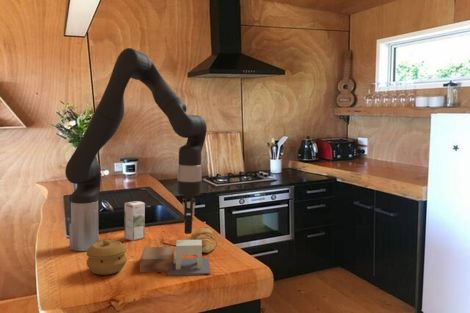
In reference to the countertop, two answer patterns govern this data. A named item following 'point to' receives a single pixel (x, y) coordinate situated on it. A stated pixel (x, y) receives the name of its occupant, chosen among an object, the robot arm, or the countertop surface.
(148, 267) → the tan square slab
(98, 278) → the countertop surface
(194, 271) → the felt pad
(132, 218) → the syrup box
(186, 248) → the notched cream block
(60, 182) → the countertop surface
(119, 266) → the pot
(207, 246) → the croissant
